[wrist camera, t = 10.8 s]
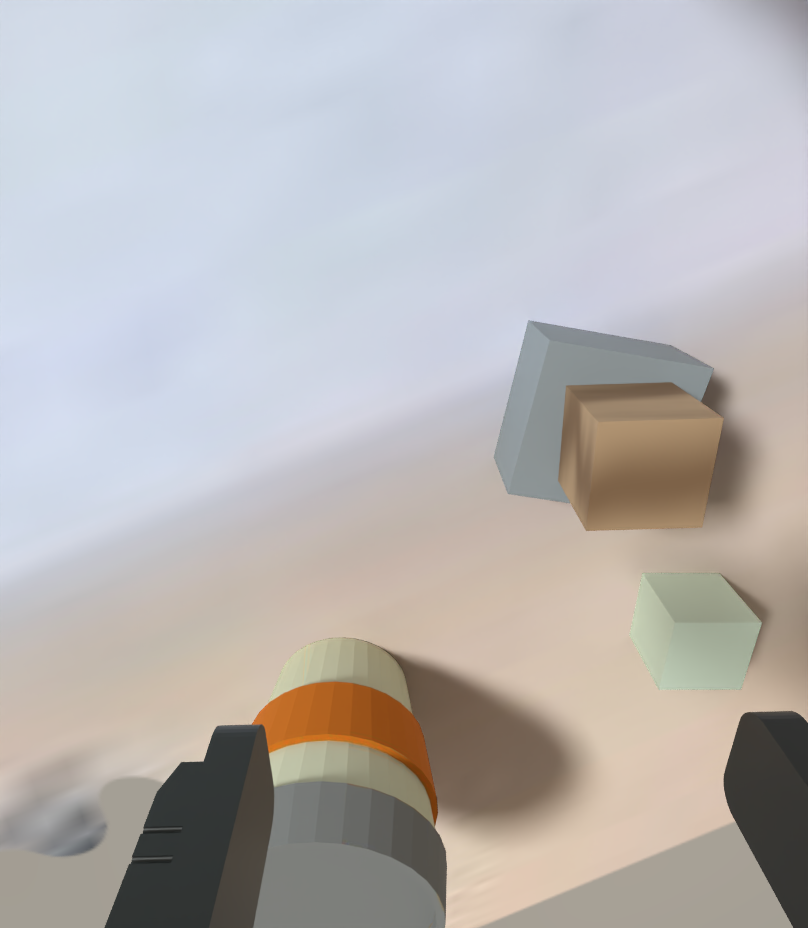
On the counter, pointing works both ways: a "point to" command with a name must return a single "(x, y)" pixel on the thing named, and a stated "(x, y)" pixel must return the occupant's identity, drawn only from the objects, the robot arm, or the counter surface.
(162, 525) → the counter surface
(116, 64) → the counter surface
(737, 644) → the sage green block
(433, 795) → the reusable coffee cup
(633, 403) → the walnut block
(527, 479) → the slate block
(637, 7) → the counter surface
